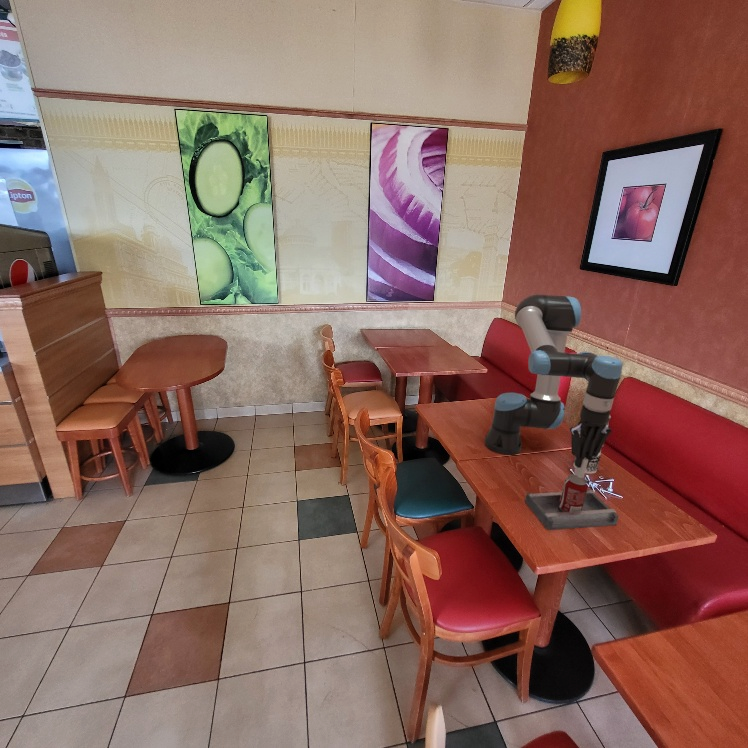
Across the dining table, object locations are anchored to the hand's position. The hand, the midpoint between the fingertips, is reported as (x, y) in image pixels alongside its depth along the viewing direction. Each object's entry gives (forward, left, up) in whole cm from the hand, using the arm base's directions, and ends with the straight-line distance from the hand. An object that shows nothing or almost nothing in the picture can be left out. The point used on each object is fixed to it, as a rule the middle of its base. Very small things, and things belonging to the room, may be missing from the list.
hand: (578, 475), depth 128 cm
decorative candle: (-25, +24, -15) cm, 38 cm away
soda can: (0, 0, -14) cm, 14 cm away
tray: (0, 0, -15) cm, 15 cm away
